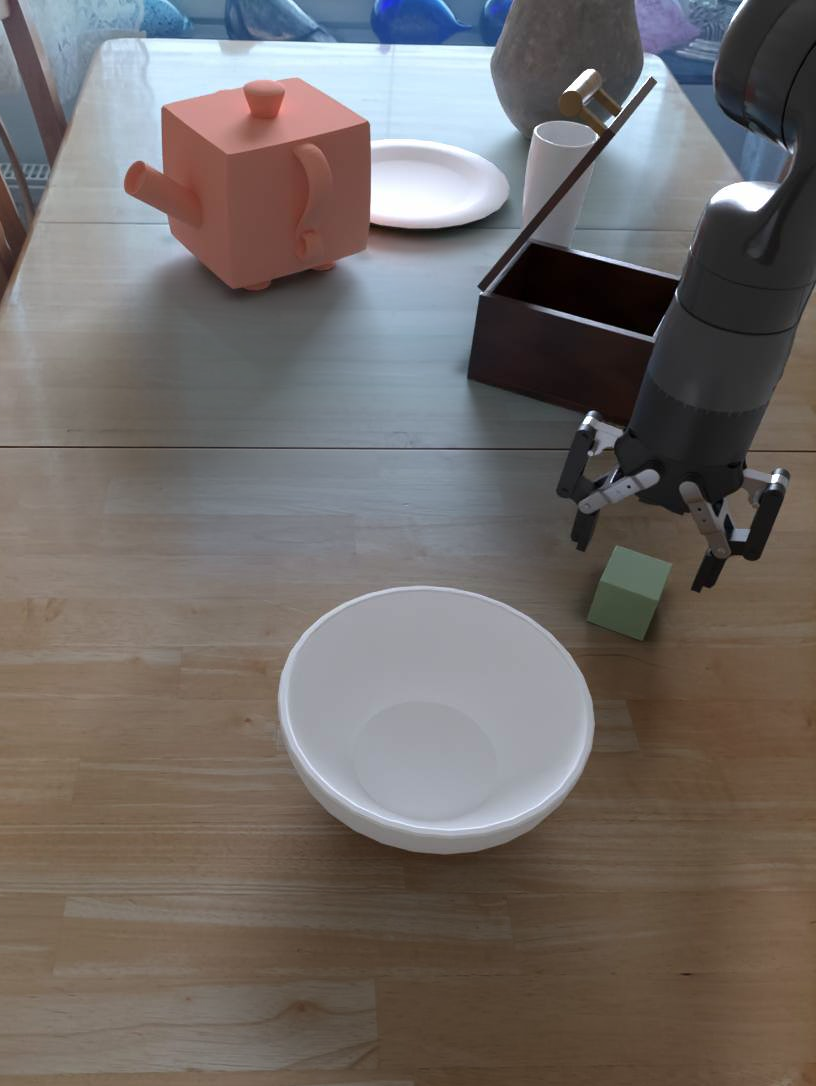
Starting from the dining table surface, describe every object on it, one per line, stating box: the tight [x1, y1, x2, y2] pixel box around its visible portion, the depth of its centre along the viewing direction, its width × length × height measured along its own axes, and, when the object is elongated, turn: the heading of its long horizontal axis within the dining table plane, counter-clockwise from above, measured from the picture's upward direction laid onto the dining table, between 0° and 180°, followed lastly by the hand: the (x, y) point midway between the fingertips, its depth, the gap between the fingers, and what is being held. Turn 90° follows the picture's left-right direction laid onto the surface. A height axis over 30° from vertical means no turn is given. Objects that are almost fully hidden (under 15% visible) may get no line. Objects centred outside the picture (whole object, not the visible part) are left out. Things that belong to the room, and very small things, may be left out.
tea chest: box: [466, 238, 681, 427], centre depth 93 cm, size 17×13×9 cm
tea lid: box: [477, 69, 658, 292], centre depth 85 cm, size 18×13×5 cm
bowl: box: [277, 585, 596, 855], centre depth 63 cm, size 20×20×7 cm
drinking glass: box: [519, 121, 600, 248], centre depth 104 cm, size 7×7×15 cm
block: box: [586, 545, 674, 642], centre depth 73 cm, size 4×4×4 cm
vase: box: [489, 0, 645, 141], centre depth 126 cm, size 20×19×25 cm
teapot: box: [123, 76, 372, 291], centre depth 102 cm, size 25×23×18 cm
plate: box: [370, 138, 511, 231], centre depth 121 cm, size 25×25×2 cm
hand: (639, 564), depth 71 cm, fingers open, 8 cm apart
